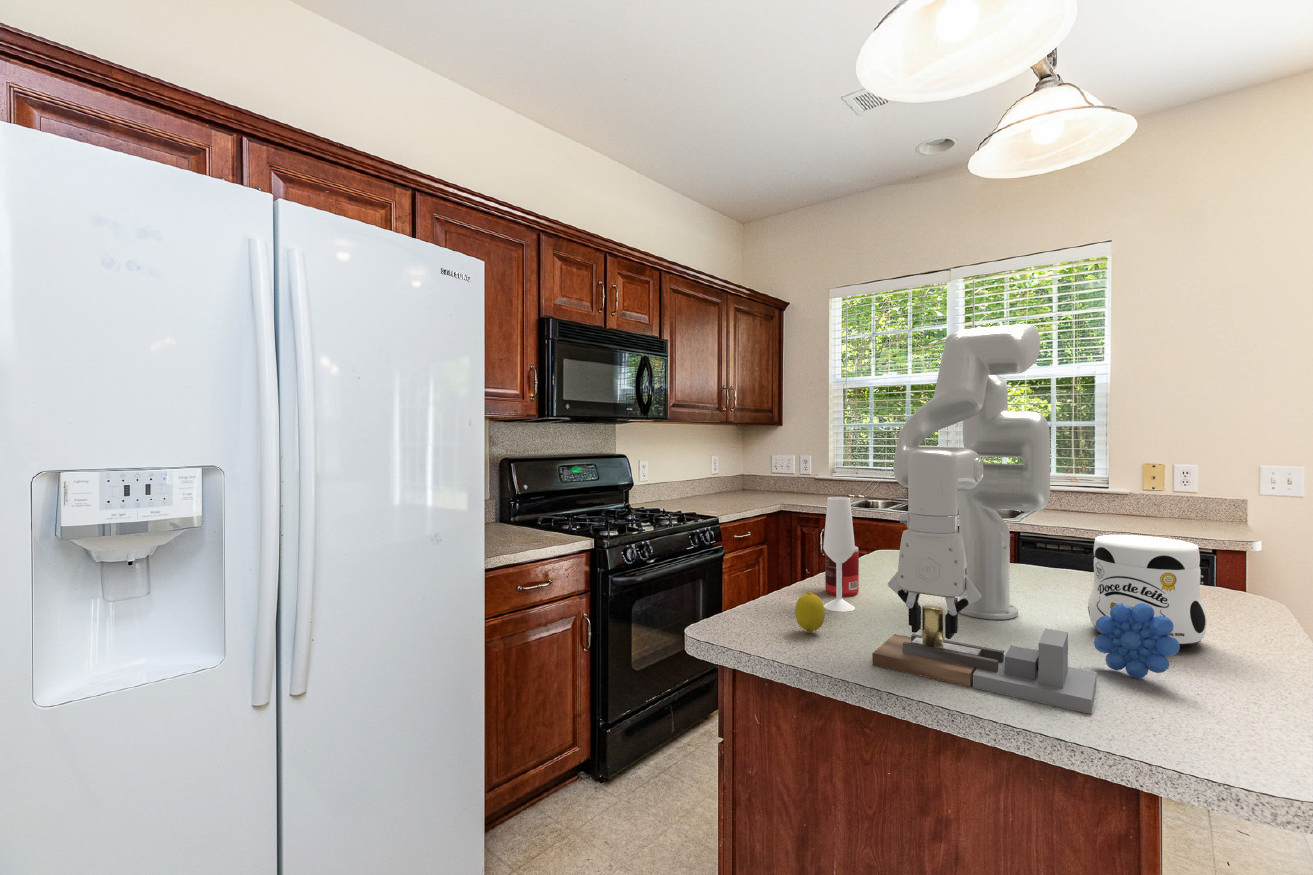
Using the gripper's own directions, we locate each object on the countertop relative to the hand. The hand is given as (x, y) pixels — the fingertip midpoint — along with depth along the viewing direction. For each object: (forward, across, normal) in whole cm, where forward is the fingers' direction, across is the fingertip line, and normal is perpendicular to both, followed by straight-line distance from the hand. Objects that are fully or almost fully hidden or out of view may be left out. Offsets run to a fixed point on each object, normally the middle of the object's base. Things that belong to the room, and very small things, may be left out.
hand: (932, 632), depth 104 cm
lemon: (+6, -23, +3) cm, 24 cm away
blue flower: (+6, +27, +14) cm, 31 cm away
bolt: (+3, +2, 0) cm, 4 cm away
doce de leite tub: (+6, +28, +37) cm, 47 cm away
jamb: (+5, +15, 0) cm, 16 cm away
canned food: (+6, -29, +35) cm, 46 cm away
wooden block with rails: (+5, +1, 0) cm, 5 cm away
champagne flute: (+6, -25, +23) cm, 34 cm away
